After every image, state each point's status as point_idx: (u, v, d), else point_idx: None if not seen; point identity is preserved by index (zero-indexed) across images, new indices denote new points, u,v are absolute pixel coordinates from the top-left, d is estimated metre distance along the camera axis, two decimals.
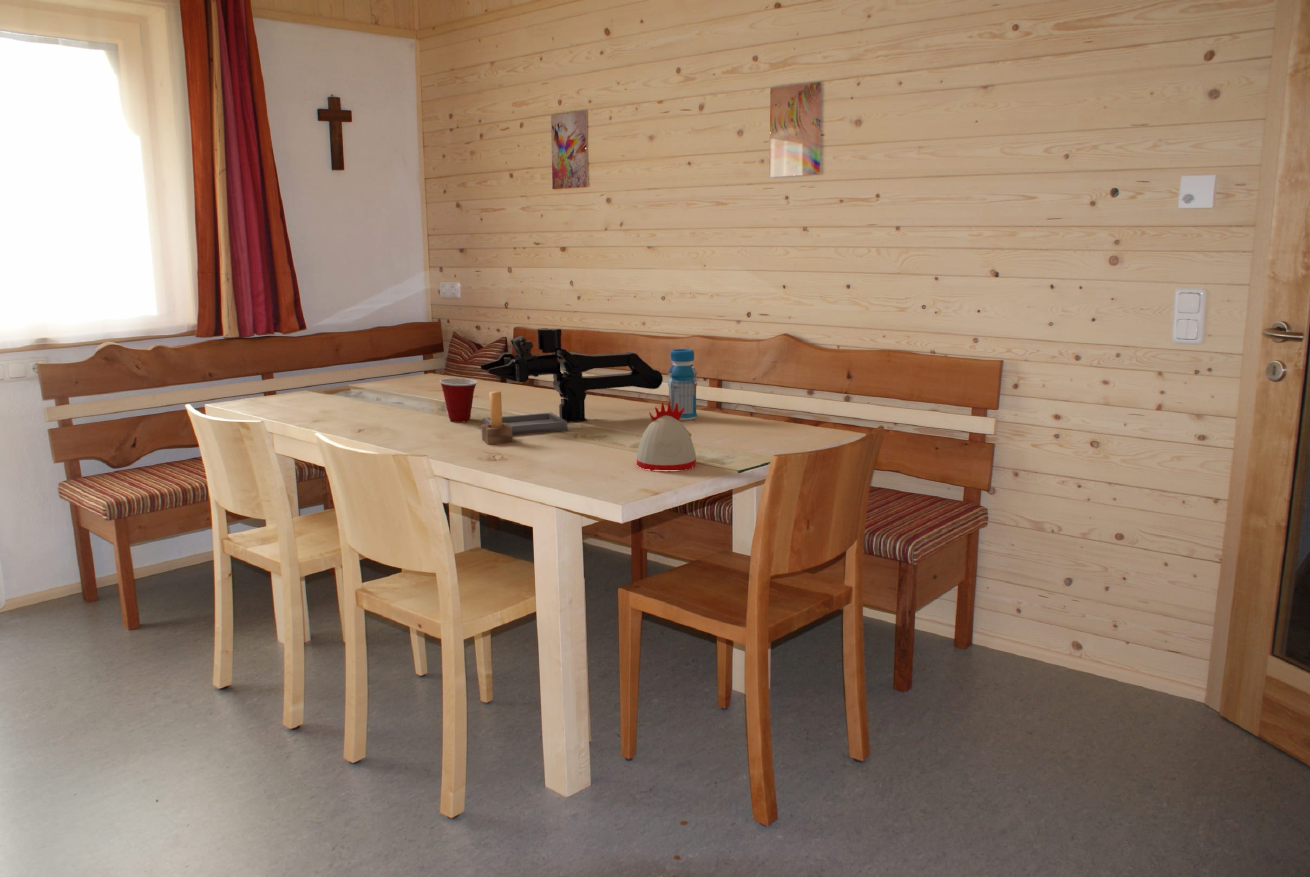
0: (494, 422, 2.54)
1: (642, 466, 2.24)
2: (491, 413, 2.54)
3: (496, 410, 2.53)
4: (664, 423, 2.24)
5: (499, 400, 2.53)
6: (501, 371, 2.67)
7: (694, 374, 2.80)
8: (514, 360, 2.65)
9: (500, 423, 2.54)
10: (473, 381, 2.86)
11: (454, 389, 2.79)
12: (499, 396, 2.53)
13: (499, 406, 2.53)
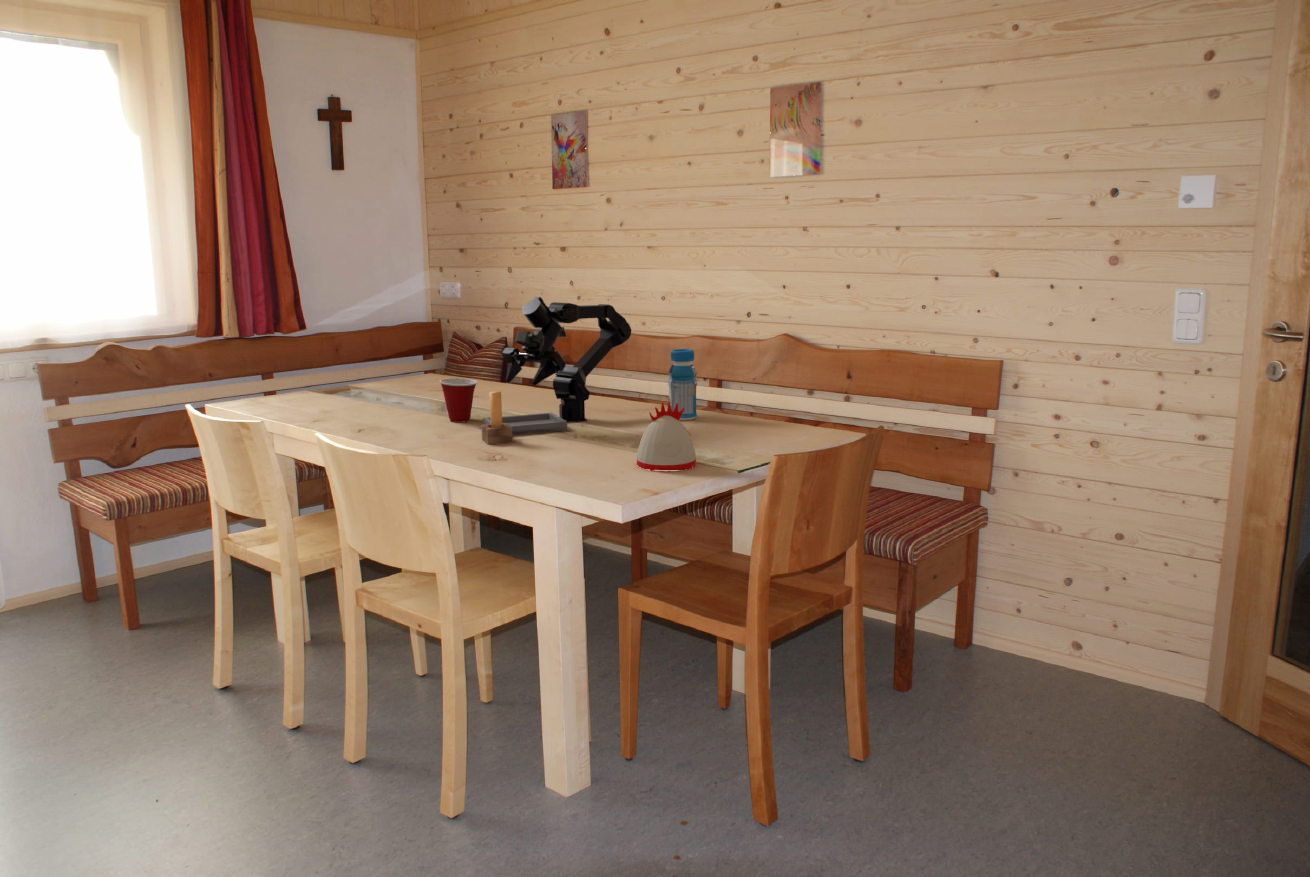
0: (494, 422, 2.54)
1: (642, 466, 2.24)
2: (491, 413, 2.54)
3: (496, 410, 2.53)
4: (664, 423, 2.24)
5: (499, 400, 2.53)
6: (542, 375, 2.62)
7: (694, 374, 2.80)
8: (547, 359, 2.60)
9: (500, 423, 2.54)
10: (473, 381, 2.86)
11: (454, 389, 2.79)
12: (499, 396, 2.53)
13: (499, 406, 2.53)
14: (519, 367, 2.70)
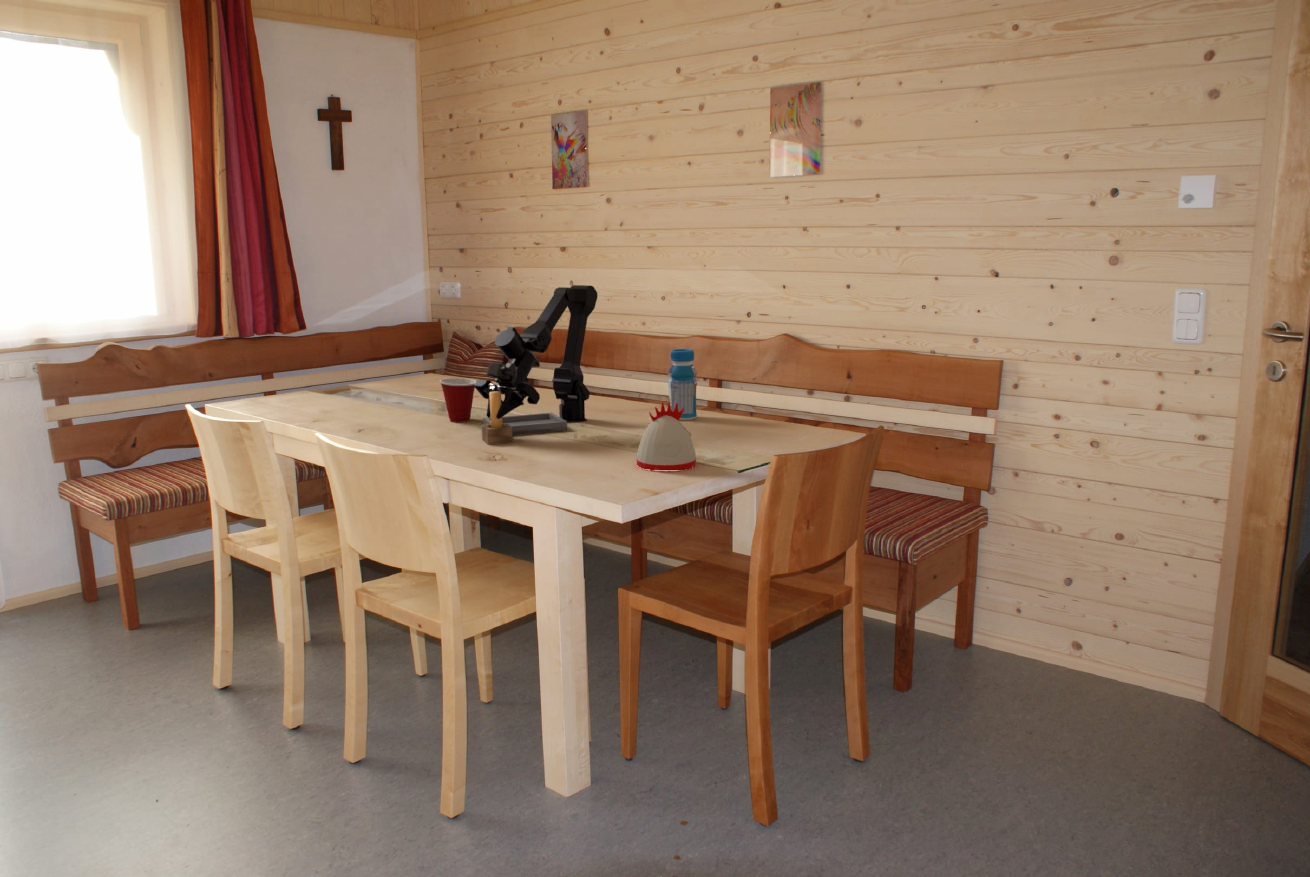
0: (494, 422, 2.54)
1: (642, 466, 2.24)
2: (491, 413, 2.54)
3: (496, 410, 2.53)
4: (664, 423, 2.24)
5: (499, 400, 2.53)
6: (506, 408, 2.54)
7: (694, 374, 2.80)
8: (512, 391, 2.52)
9: (500, 423, 2.54)
10: (473, 381, 2.86)
11: (454, 389, 2.79)
12: (499, 396, 2.53)
13: (499, 406, 2.53)
14: None
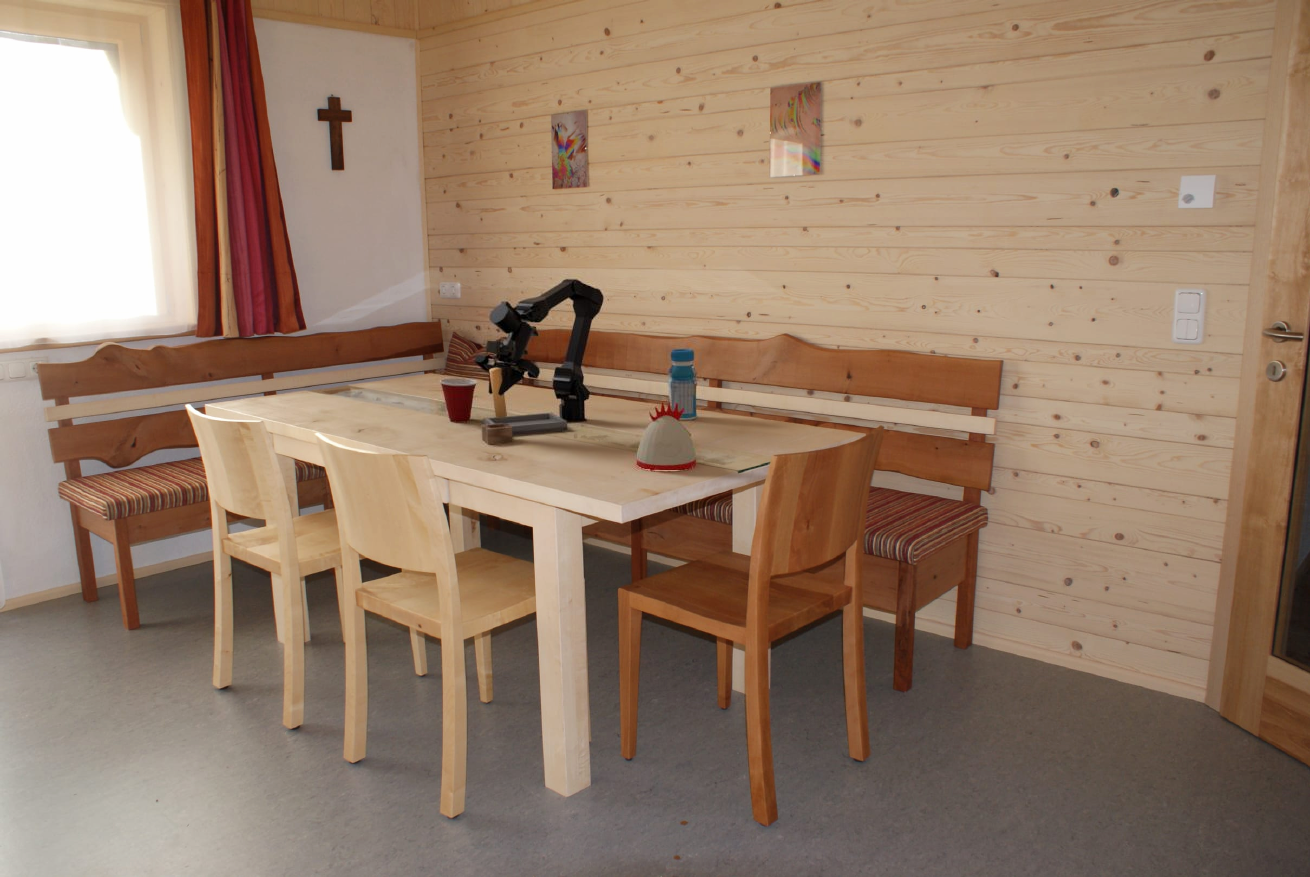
0: (497, 398, 2.56)
1: (642, 466, 2.24)
2: (493, 390, 2.56)
3: (498, 387, 2.55)
4: (664, 423, 2.24)
5: (500, 377, 2.54)
6: (508, 384, 2.56)
7: (694, 374, 2.80)
8: (511, 368, 2.53)
9: (502, 399, 2.57)
10: (473, 381, 2.86)
11: (454, 389, 2.79)
12: (499, 373, 2.54)
13: (500, 383, 2.55)
14: None
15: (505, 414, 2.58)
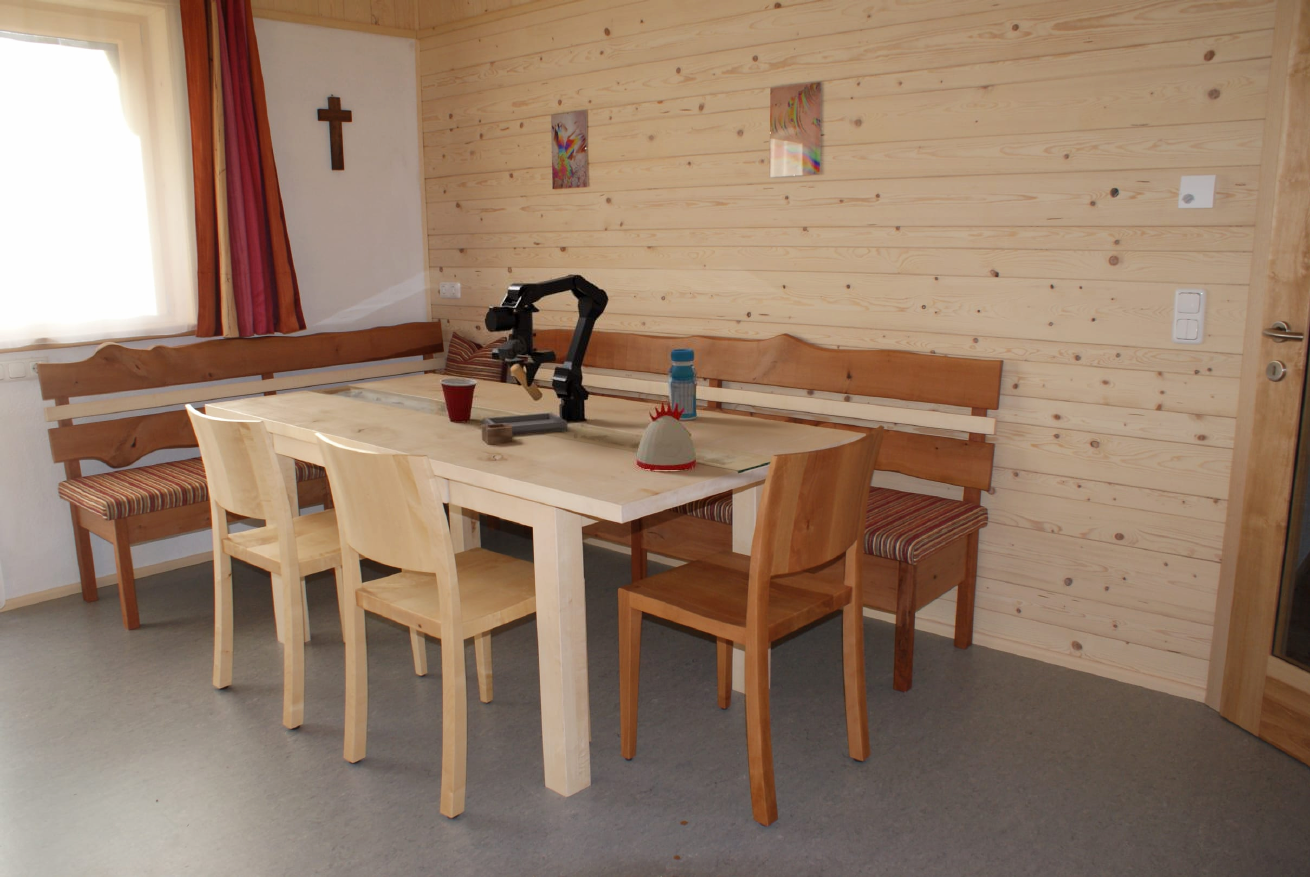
0: (528, 389, 2.71)
1: (642, 466, 2.24)
2: (521, 384, 2.70)
3: (525, 381, 2.68)
4: (664, 423, 2.24)
5: (522, 373, 2.67)
6: (532, 374, 2.68)
7: (694, 374, 2.80)
8: (529, 364, 2.64)
9: (533, 386, 2.71)
10: (473, 381, 2.86)
11: (454, 389, 2.79)
12: (521, 370, 2.66)
13: (525, 377, 2.68)
14: (521, 361, 2.71)
15: (540, 395, 2.74)
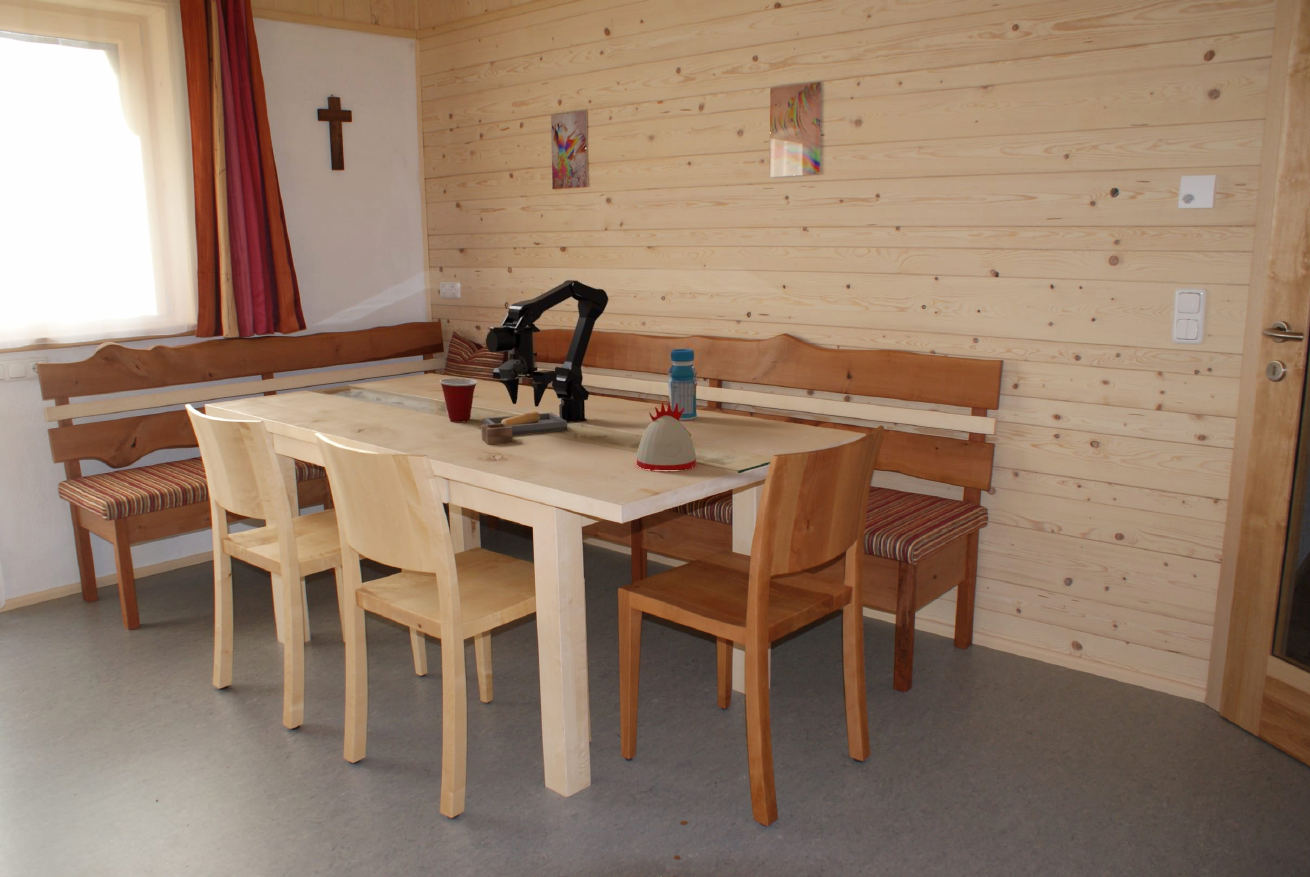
0: None
1: (642, 466, 2.24)
2: None
3: None
4: (664, 423, 2.24)
5: (514, 423, 2.66)
6: (539, 394, 2.68)
7: (694, 374, 2.80)
8: (537, 384, 2.64)
9: (528, 420, 2.71)
10: (473, 381, 2.86)
11: (454, 389, 2.79)
12: (511, 424, 2.65)
13: (517, 423, 2.67)
14: (516, 380, 2.74)
15: (538, 417, 2.75)
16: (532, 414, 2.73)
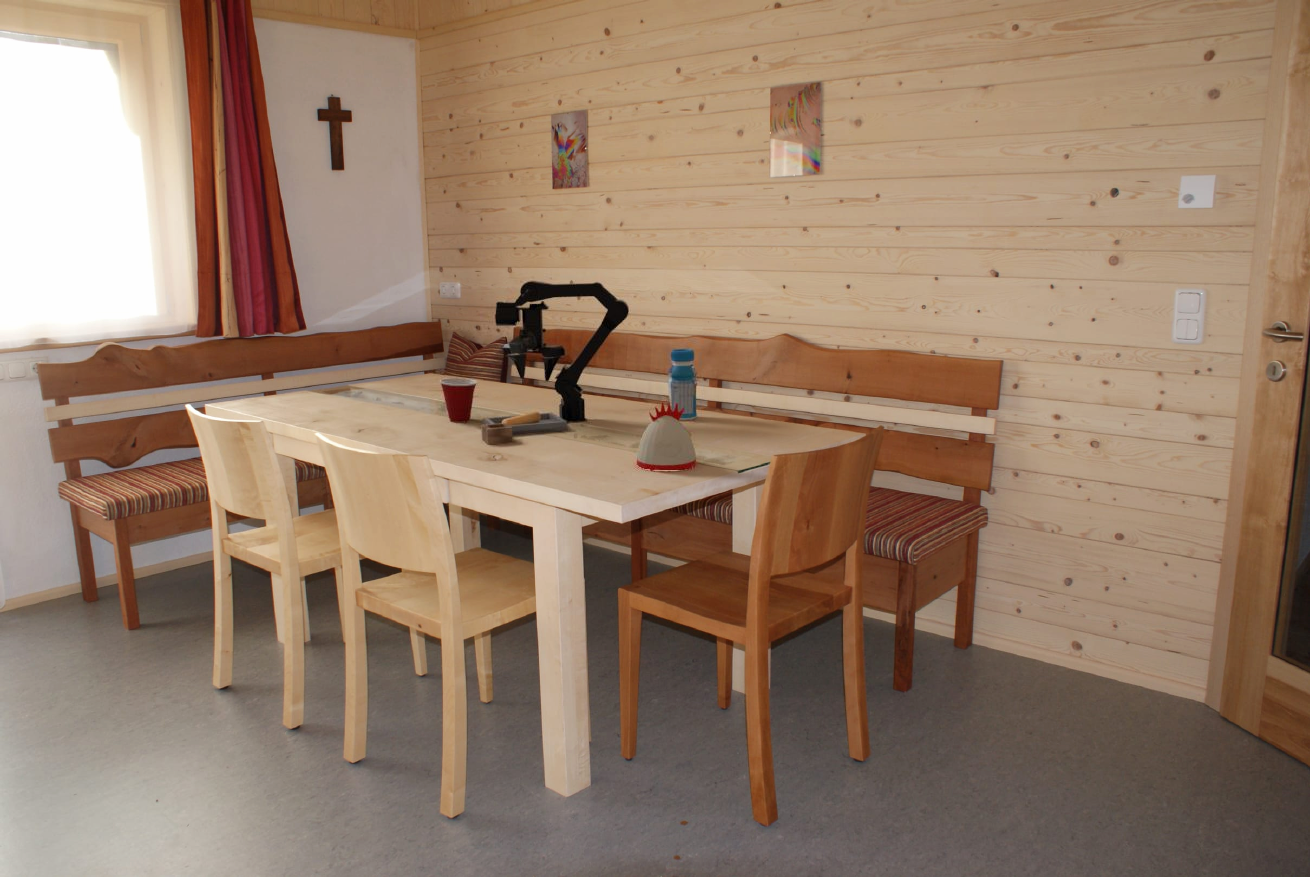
0: None
1: (642, 466, 2.24)
2: None
3: None
4: (664, 423, 2.24)
5: (514, 424, 2.66)
6: (550, 369, 2.77)
7: (694, 374, 2.80)
8: (548, 359, 2.73)
9: (529, 421, 2.71)
10: (473, 381, 2.86)
11: (454, 389, 2.79)
12: None
13: (518, 424, 2.67)
14: (524, 355, 2.84)
15: (539, 418, 2.75)
16: (533, 415, 2.73)
